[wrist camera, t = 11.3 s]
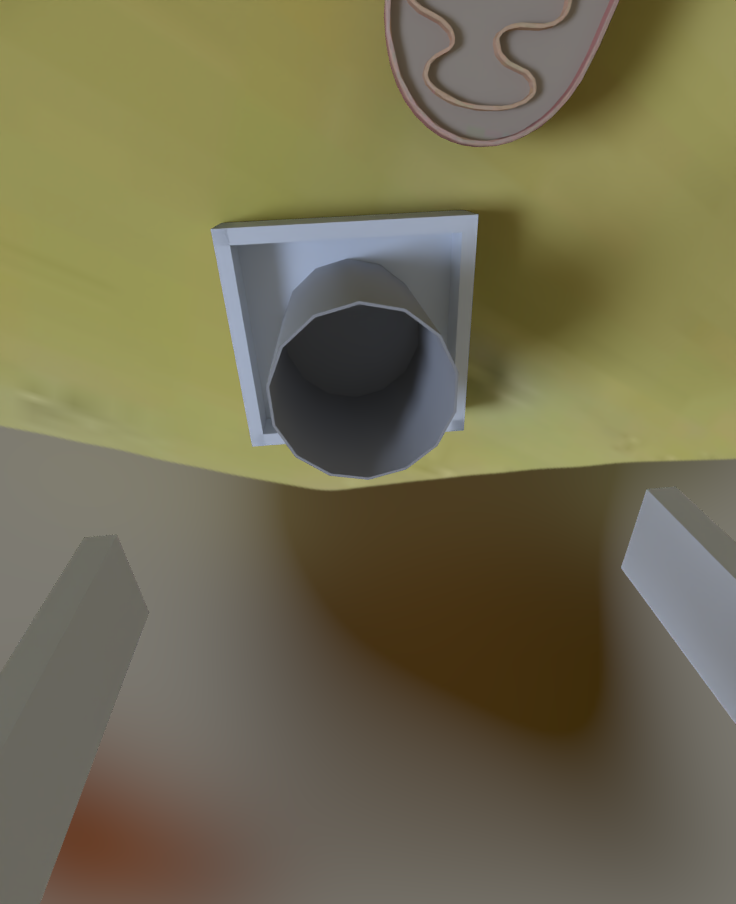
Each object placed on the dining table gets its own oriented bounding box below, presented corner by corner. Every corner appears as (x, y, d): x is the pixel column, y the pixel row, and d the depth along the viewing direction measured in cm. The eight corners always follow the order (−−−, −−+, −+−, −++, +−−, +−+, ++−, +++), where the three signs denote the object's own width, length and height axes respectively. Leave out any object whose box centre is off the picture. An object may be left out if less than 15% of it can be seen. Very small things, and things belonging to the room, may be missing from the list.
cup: (446, 315, 30) (498, 377, 21) (368, 416, 33) (384, 505, 24) (332, 228, 27) (337, 257, 18) (257, 347, 30) (230, 421, 21)
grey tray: (221, 223, 27) (210, 229, 24) (463, 209, 27) (478, 214, 25) (257, 424, 33) (252, 446, 31) (452, 410, 34) (463, 430, 31)
